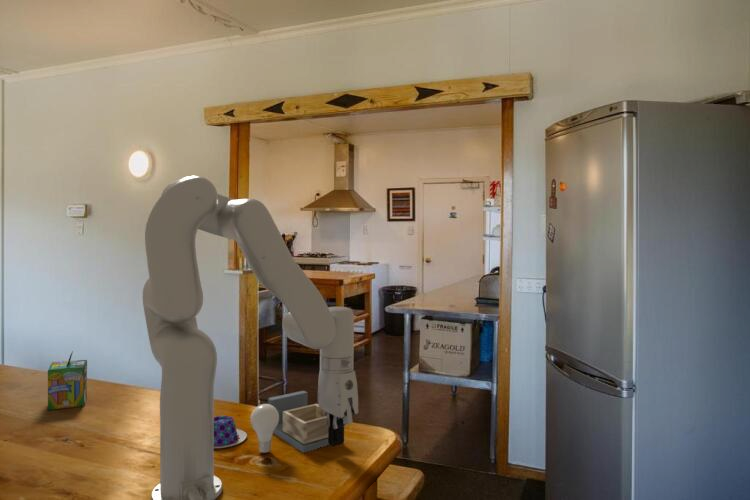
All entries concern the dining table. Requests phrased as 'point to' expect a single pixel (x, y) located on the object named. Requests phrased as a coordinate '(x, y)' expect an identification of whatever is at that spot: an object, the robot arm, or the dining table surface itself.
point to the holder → (305, 423)
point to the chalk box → (67, 384)
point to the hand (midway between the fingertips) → (336, 443)
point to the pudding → (226, 432)
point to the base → (290, 403)
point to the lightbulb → (264, 425)
